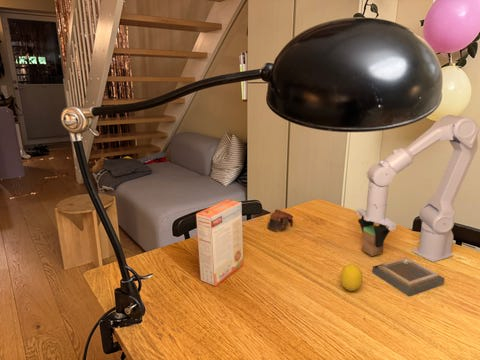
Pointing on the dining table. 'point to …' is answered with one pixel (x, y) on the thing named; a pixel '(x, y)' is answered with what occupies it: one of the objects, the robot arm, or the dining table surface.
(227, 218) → the cracker box
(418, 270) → the gray square tray
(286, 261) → the dining table surface
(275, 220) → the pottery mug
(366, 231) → the brown and green block
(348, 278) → the lemon
